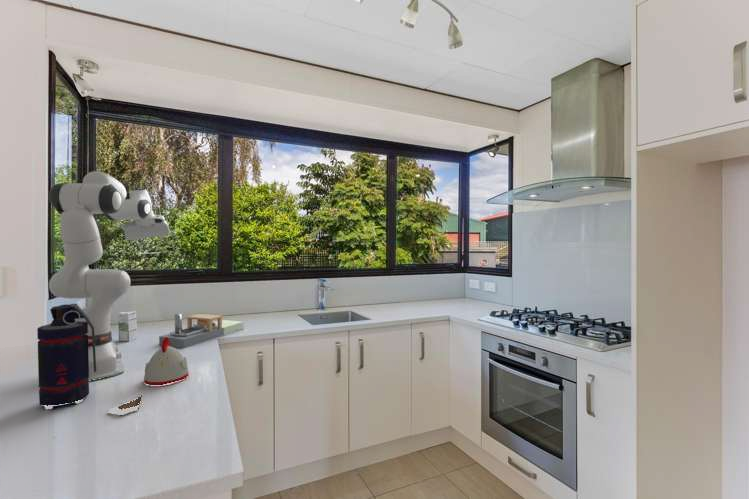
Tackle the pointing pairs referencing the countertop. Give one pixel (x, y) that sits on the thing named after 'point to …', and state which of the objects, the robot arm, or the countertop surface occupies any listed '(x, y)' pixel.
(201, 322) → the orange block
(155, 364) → the grey dome
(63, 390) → the grenade
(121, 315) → the syrup box
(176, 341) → the tunnel deck
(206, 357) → the countertop surface
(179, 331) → the slider
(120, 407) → the shard
